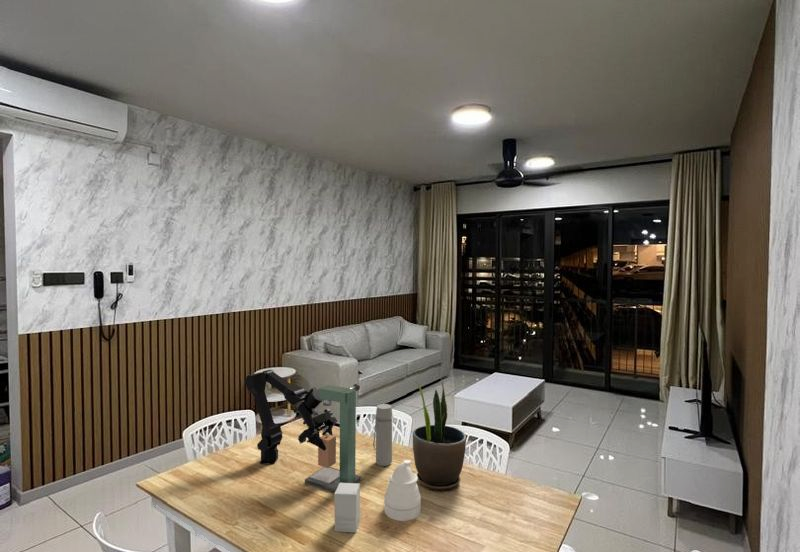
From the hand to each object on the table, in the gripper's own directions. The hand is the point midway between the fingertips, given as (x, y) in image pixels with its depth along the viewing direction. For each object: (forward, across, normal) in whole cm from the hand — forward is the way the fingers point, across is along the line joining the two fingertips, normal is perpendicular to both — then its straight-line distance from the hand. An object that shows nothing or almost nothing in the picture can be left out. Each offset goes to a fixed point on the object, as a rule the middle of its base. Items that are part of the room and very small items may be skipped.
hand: (329, 447), depth 170 cm
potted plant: (+36, +22, -17) cm, 46 cm away
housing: (+4, 0, +6) cm, 7 cm away
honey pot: (+35, -3, -16) cm, 38 cm away
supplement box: (+27, -20, -8) cm, 34 cm away
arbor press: (+11, +3, +8) cm, 14 cm away
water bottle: (+17, +24, +3) cm, 29 cm away
